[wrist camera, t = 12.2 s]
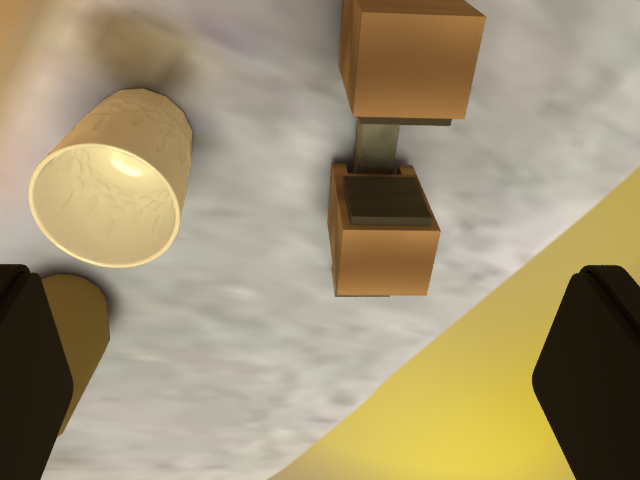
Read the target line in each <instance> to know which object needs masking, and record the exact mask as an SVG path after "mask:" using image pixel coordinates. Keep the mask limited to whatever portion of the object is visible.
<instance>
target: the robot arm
mask: <svg viewBox="0 0 640 480" xmlns="http://www.w3.org/2000/svg"><path fill="white" fill-rule="evenodd" d="M532 385H533V390H534V392H535V394H536V397H537V399H538V401H539V403H540V405H541V407H542V409H543V411H544V413H545V415H546V417H547V420H548V422H549V424H550V426H551V428H552V430H553V432H554V434H555V436H556V438H557V440H558V443H559V445H560V447H561V449H562V451H563V453H564V455H565V457H566V459H567V462H568V464H569V465H570V468H571V470H572V472H573V474H574V476H575V478H576V480H640V287H639V285H638V284H637V283H636V282H635V281H634V279H633V278H632V277H631V276H630V275H629V274H628V272H627V271H626V270H625V269H623V268H622V267H621V266H617V265H588V266H585V267H583V268H582V269H581V270H580V272H579V273H576V274H574V275H573V276H572V277H571V279H570V281H569V284H568V286H567V289H566V291H565V294H564V296H563V299H562V301H561V304H560V306H559V309H558V311H557V314H556V316H555V319H554V321H553V324H552V326H551V329H550V332H549V334H548V336H547V339H546V342H545V344H544V346H543V349H542V351H541V354H540V356H539V359H538V361H537V364H536V366H535V369H534V372H533V375H532ZM73 388H74V385H73V378H72V375H71V372H70V368H69V365H68V362H67V359H66V356H65V353H64V350H63V346H62V343H61V340H60V337H59V334H58V331H57V327H56V324H55V321H54V318H53V315H52V312H51V309H50V305H49V302H48V299H47V296H46V293H45V290H44V287H43V283H42V280H41V278H40V276H39V275H38V274H37V273H30V270H29V268H28V267H27V266H26V265H22V264H0V480H40V479H41V477H42V474H43V471H44V469H45V466H46V464H47V461H48V459H49V456H50V454H51V451H52V448H53V446H54V443H55V441H56V438H57V436H58V433H59V431H60V428H61V425H62V423H63V420H64V418H65V415H66V413H67V410H68V408H69V405H70V402H71V399H72V396H73Z"/></svg>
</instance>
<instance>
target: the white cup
mask: <svg viewBox="0 0 640 480" xmlns="http://www.w3.org/2000/svg"><path fill="white" fill-rule="evenodd" d="M192 137H193V132H192V130H191V128H190V125H189V123H188V121H187V119H186V117H185V114H184V112H183V111H181V110H180V109H179V108H178V107H177V106H176V105H175V104H174V103H173V102H171V101H170V100H169V99H168V98H167V97H166V96H163V95H160V94H157V93H155V92H152V91H149V90H146V89H143V88H141V89H127V90H119V91H118V92H116V93H114V94H113V95H111V96H109V97H108V98H106V99H105V100H103V101H102V102H101V103H100V104H99V105H98V106H97V107H96V108H95V109H93V110H92V111H91V112H90V113H88V114H87V115H86V116H85V117H84V118H83V119H82V120H81V121H80V122H79V123H78V124H77V125H76V126H75V127H74V128H73V129H72V130H71V131H70V132H69V133H68V134H67V135H66V136H65V137H64V138H63V139H62V141H61V142H60V143H59V144H58V145H57V146H56V147H55V148H54V149H53V150H52V151H51V152H50V153H49V154H48V155H47V156H46V157H45V158H44V159H43V160H42V161H41V162H40V164H39V165H38V166H37V168H36V169H35V171H34V172H33V174H32V177H31V180H30V183H29V189H28V199H29V206H30V209H31V212H32V215H33V217H34V219H35V221H36V223H37V225H38V226H39V228H40V229H41V231H42V232H43V233H44V234H45V236H46V237H47V238H48V239H49V240H50V241H51V242H52V243H53V244H55V245H56V246H57V247H58V248H60V249H61V250H63V251H64V252H66V253H67V254H69V255H71V256H73V257H75V258H77V259H79V260H81V261H84V262H87V263H90V264H93V265H97V266H103V267H111V268H125V267H133V266H137V265H141V264H144V263H147V262H149V261H151V260H153V259H155V258H157V257H158V256H160V255H161V254H162V253H164V252H165V251H166V250H167V249H168V248H169V246H170V245H171V244H172V242H173V241H174V239H175V237H176V235H177V232H178V229H179V225H180V220H181V214H182V209H183V205H184V200H185V195H186V190H187V185H188V178H189V171H190V165H191V154H192Z"/></svg>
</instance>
